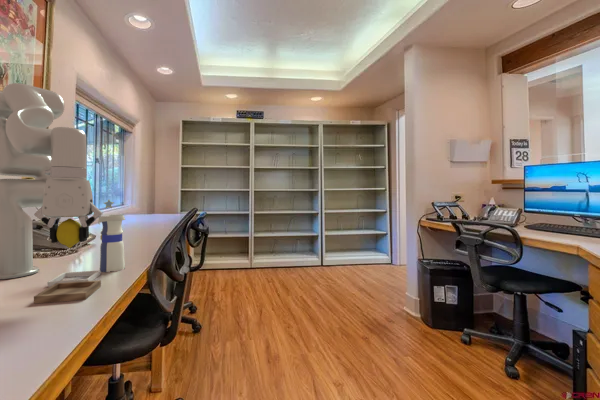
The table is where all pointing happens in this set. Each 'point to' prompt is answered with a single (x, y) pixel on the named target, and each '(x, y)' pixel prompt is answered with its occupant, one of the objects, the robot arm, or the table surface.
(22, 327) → the table surface
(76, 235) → the lemon
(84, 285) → the tray
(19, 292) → the table surface
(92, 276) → the frame
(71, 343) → the table surface
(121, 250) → the water bottle
